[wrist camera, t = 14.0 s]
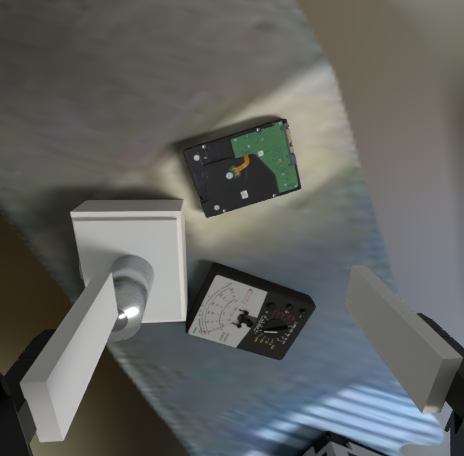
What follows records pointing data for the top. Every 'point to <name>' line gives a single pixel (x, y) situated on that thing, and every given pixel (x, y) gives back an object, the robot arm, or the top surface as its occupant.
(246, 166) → the disk drive
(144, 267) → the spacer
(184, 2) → the top surface
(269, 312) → the multimeter
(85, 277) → the scale
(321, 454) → the game console
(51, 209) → the top surface
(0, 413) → the robot arm
